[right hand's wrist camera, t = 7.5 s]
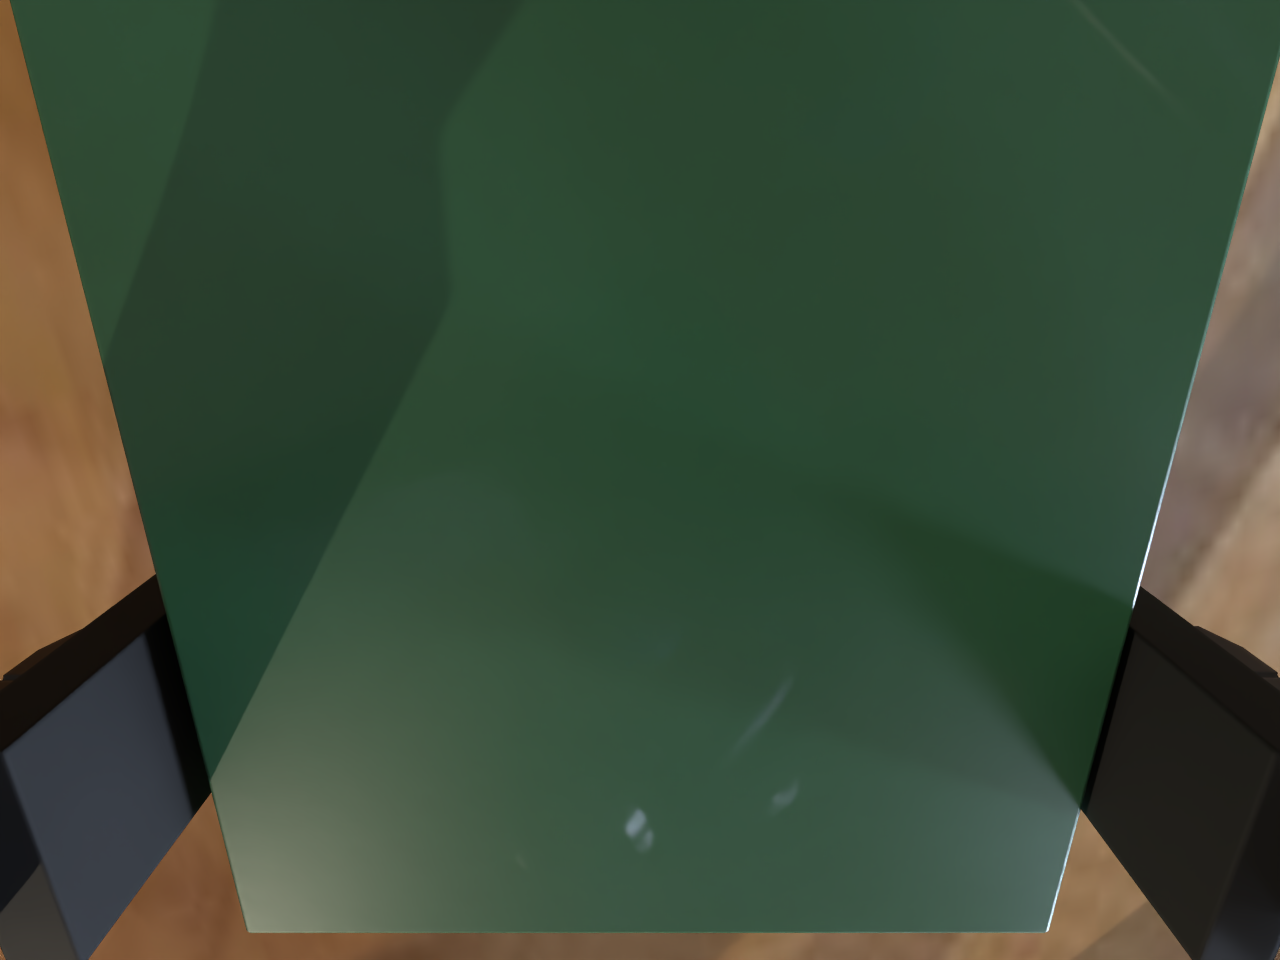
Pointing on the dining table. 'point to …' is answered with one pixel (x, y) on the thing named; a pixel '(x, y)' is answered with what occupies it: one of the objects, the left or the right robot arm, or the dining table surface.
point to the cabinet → (649, 430)
